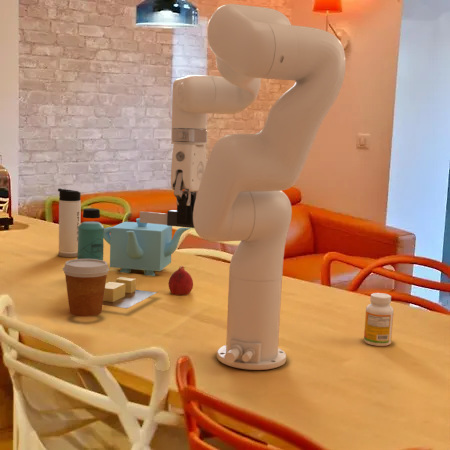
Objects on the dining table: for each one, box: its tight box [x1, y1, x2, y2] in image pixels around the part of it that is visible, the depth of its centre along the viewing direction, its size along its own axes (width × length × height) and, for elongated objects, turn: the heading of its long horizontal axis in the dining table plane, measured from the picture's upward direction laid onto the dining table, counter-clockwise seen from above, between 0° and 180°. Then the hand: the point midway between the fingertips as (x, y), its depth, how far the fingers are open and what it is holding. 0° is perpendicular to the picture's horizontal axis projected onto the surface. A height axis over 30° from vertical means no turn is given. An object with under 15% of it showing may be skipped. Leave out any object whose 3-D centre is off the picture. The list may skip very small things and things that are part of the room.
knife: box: [139, 209, 195, 229], centre depth 161 cm, size 15×2×3 cm, turn 71°
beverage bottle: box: [76, 207, 105, 261], centre depth 180 cm, size 6×7×20 cm
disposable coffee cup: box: [62, 258, 110, 317], centre depth 156 cm, size 10×10×12 cm
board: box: [102, 289, 158, 309], centre depth 170 cm, size 16×12×2 cm
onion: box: [167, 265, 194, 296], centre depth 176 cm, size 6×6×8 cm
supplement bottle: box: [363, 292, 394, 347], centre depth 148 cm, size 5×5×10 cm
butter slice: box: [115, 276, 137, 293], centre depth 175 cm, size 2×4×3 cm, turn 71°
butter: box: [103, 281, 125, 302], centre depth 168 cm, size 6×4×3 cm, turn 161°
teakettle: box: [103, 217, 192, 277], centre depth 203 cm, size 19×19×15 cm
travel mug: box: [57, 188, 82, 258], centre depth 220 cm, size 6×7×20 cm
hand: (186, 222), depth 160 cm, fingers closed on knife, 2 cm apart
